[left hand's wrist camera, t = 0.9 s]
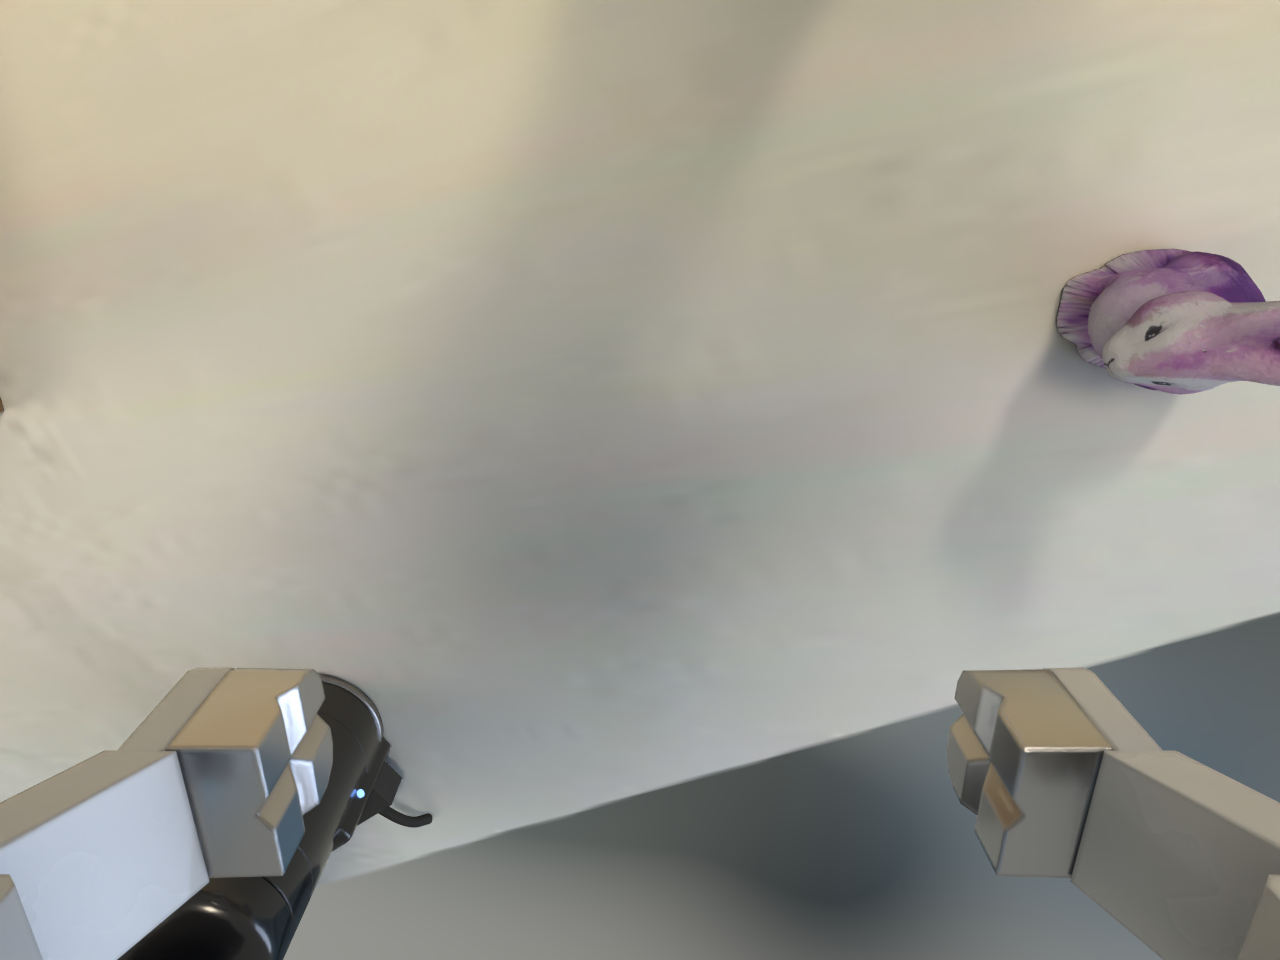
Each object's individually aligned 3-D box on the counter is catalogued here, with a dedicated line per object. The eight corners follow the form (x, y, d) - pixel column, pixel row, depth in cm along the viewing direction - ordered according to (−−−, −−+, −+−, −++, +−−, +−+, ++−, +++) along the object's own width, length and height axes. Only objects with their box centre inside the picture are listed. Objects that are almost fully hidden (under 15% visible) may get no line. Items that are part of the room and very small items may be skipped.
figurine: (1014, 316, 52) (1154, 373, 38) (1159, 200, 49) (1366, 214, 35) (1094, 422, 54) (1253, 512, 40) (1236, 316, 52) (1458, 373, 38)
